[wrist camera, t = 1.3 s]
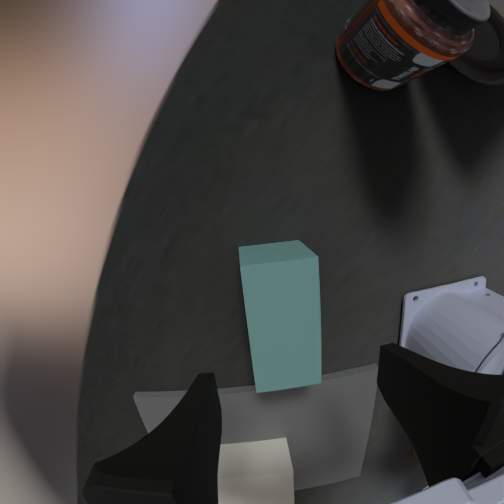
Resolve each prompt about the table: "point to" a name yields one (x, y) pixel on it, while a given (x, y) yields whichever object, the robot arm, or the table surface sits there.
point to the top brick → (282, 314)
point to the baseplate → (294, 421)
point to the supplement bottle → (406, 38)
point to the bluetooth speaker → (485, 49)
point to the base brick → (255, 473)
